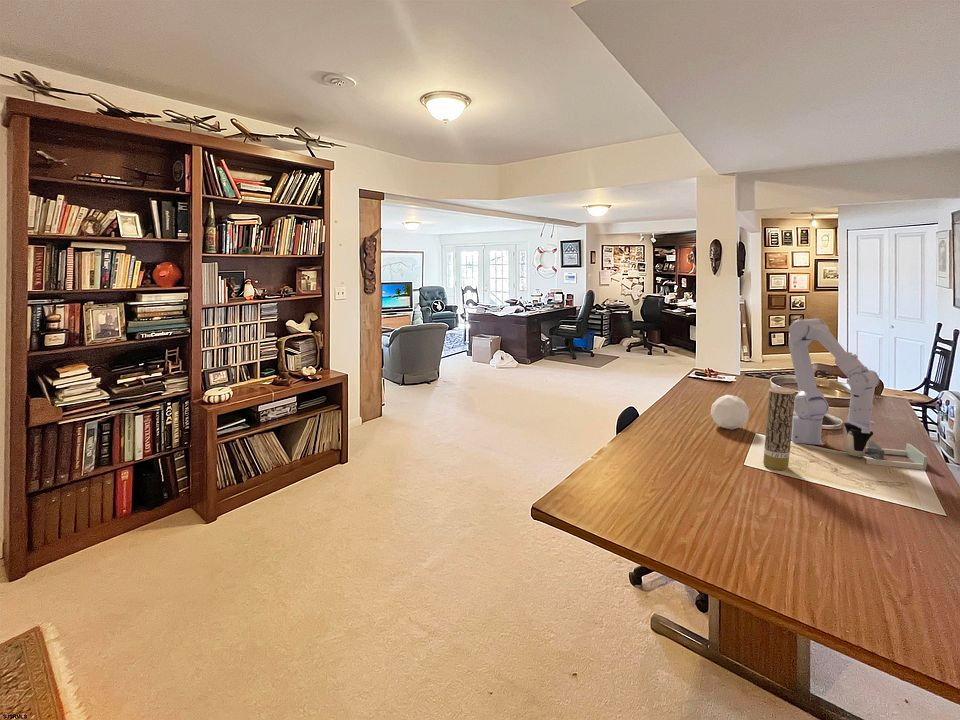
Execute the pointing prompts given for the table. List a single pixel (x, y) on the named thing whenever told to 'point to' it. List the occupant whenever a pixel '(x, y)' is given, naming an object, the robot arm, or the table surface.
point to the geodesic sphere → (729, 412)
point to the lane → (910, 452)
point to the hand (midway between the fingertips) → (855, 447)
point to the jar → (850, 446)
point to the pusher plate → (875, 450)
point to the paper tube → (779, 428)
